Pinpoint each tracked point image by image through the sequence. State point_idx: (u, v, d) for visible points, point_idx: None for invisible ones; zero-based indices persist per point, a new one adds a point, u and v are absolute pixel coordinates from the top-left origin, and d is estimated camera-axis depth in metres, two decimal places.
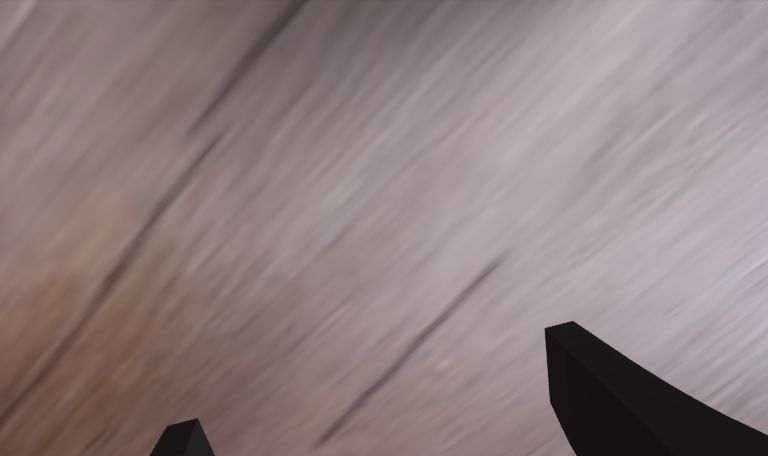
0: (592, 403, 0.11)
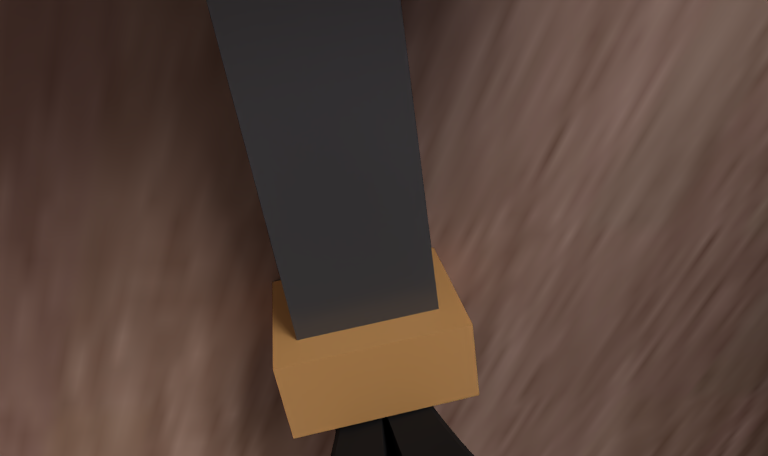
0: (398, 455, 0.10)
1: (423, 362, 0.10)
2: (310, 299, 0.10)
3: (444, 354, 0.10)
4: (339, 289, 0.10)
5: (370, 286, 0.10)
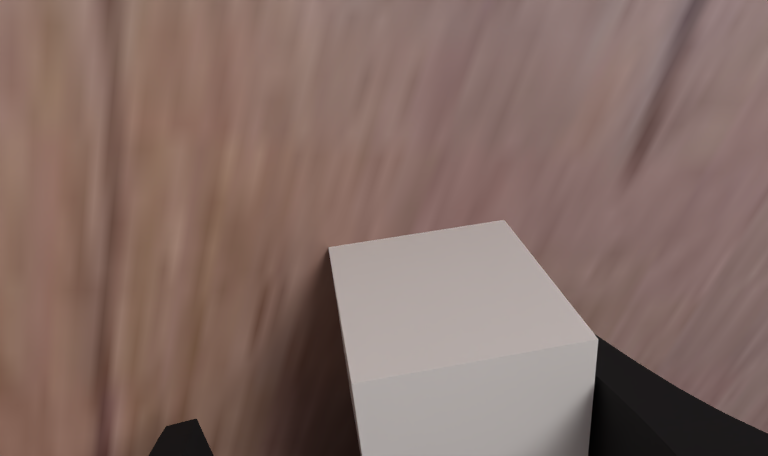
0: (594, 402, 0.11)
1: None
2: None
3: None
4: None
5: None
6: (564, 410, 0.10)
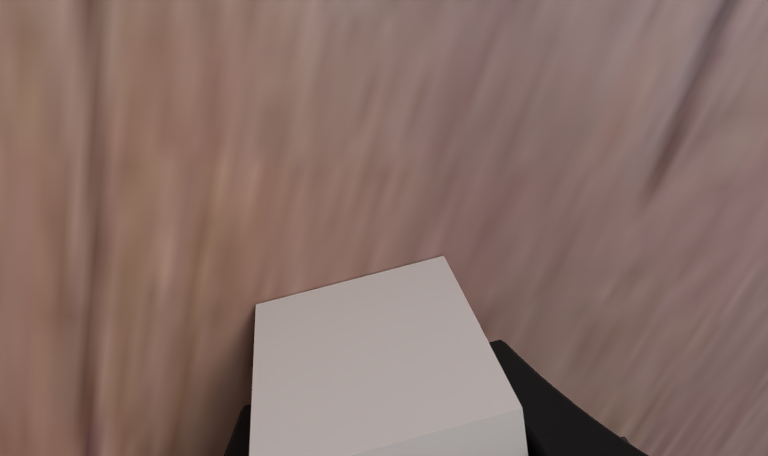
0: None
1: None
2: None
3: None
4: None
5: None
6: None
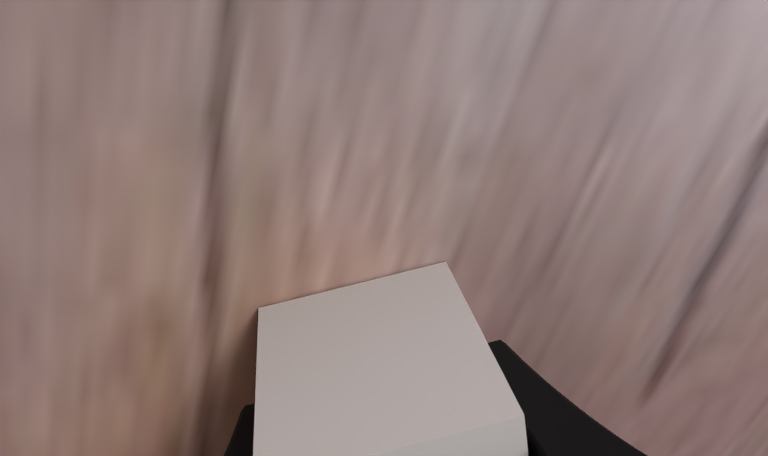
0: None
1: None
2: None
3: None
4: None
5: None
6: None
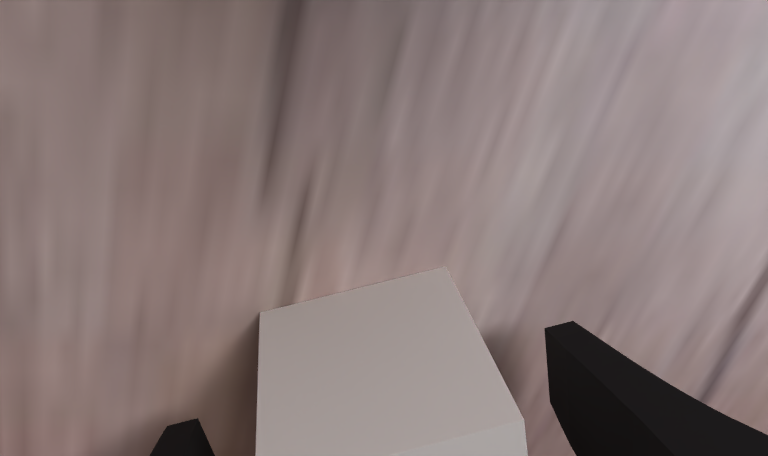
0: (592, 403, 0.11)
1: None
2: None
3: None
4: None
5: None
6: None
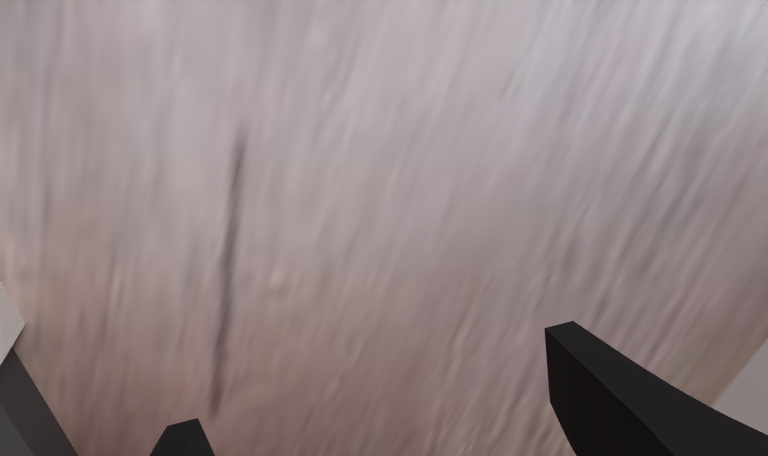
0: (592, 403, 0.11)
1: None
2: None
3: None
4: None
5: None
6: None
